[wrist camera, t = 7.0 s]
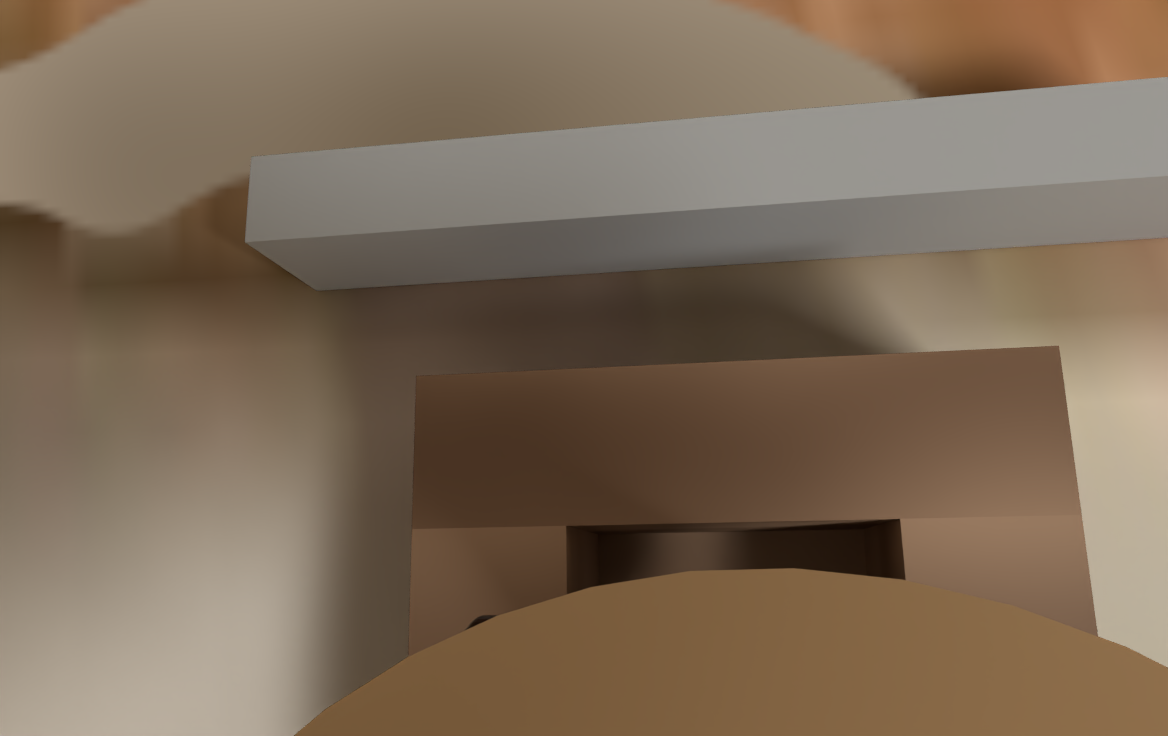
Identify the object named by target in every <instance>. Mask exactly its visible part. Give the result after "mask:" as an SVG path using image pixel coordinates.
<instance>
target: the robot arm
mask: <svg viewBox="0 0 1168 736" xmlns="http://www.w3.org/2000/svg"><path fill="white" fill-rule="evenodd" d="M496 616H498V615H483V616H479V617H477V618H476V619H474V620H473V621H472V622H471V623H470V624H469V626H468V627H467V628H466V629H465V630H467V629H470V628H472V627H474V626H476V625H478V624H480V623H483V622H485V621H487V620H489V619H491V618H493V617H496Z"/></svg>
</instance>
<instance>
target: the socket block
mask: <svg viewBox="0 0 1168 736" xmlns="http://www.w3.org/2000/svg"><path fill="white" fill-rule="evenodd" d="M785 568H796V569H806V570H816V571H825V572H835V573H844V574H854V575H864V576H873V577H883V578H892V579H902V580H906V581H910V582H915V583H919V584H923V585H927V586H932V587H936V588H940V589H945V590H949V591H953V592H957V593H962V594H966V595H970V596H974V597H979V598H983V599H987V600H991V601H996V602H1000V603H1004V604H1009V605H1013V606H1016V607H1018V608H1021V609H1024V610H1027V611H1029V612H1032V613H1035V614H1037V615H1040V616H1043V617H1046V618H1048V619H1051V620H1054V621H1057V622H1059V623H1062V624H1065V625H1068V626H1070V627H1073V628H1076V629H1078V630H1081V631H1084V632H1087V633H1089V634H1092V635H1095V636H1098V634H1097V626H1096V619H1095V612H1094V604H1093V597H1092V589H1091V582H1090V574H1089V567H1088V559H1087V552H1086V544H1085V537H1084V530H1083V522H1082V515H1081V507H1080V500H1079V492H1078V485H1077V477H1076V470H1075V462H1074V455H1073V448H1072V440H1071V433H1070V425H1069V418H1068V410H1067V403H1066V395H1065V388H1064V380H1063V373H1062V366H1061V358H1060V351H1059V346H1045V347H1024V348H1002V349H981V350H960V351H939V352H917V353H896V354H875V355H853V356H832V357H811V358H790V359H768V360H747V361H726V362H704V363H683V364H662V365H641V366H619V367H598V368H577V369H555V370H534V371H513V372H491V373H470V374H449V375H428V376H416V402H415V437H414V471H413V506H412V541H411V576H410V610H409V645H408V657H409V656H411V655H413V654H415V653H418V652H420V651H422V650H424V649H426V648H428V647H431V646H433V645H435V644H437V643H439V642H441V641H444V640H446V639H448V638H450V637H452V636H454V635H457V634H459V633H461V632H463V631H465V629H466V628H467V627H468V626H469V624H470V623H471V622H472V621H473V620H474V619H476V618H477V617H479V616H483V615H501V614H505V613H508V612H511V611H514V610H518V609H521V608H524V607H528V606H531V605H534V604H537V603H541V602H544V601H547V600H550V599H554V598H557V597H560V596H564V595H567V594H570V593H573V592H577V591H580V590H583V589H586V588H590V587H595V586H601V585H607V584H613V583H619V582H626V581H632V580H638V579H644V578H650V577H656V576H663V575H669V574H675V573H681V572H687V571H709V570H747V569H785Z"/></svg>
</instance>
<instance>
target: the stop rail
mask: <svg viewBox="0 0 1168 736" xmlns="http://www.w3.org/2000/svg"><path fill="white" fill-rule="evenodd" d="M250 167H251V168H250V180H249V193H248V206H247V220H246V233H245V243H247V244H248V245H250V246H251V247H253V248H254V249H256V250H257V251H259V252H260V253H262V254H263V255H264V256H266V257H267V258H269V259H270V260H272V261H273V262H275V263H276V264H278V265H279V266H281V267H282V268H284V269H285V270H287V271H288V272H290V273H291V274H292V275H294V276H295V277H297V278H298V279H300V280H301V281H303V282H304V283H306V284H307V285H309V286H310V287H312V288H313V289H315V290H316V291H320V290H336V289H352V288H368V287H384V286H400V285H416V284H432V283H448V282H464V281H480V280H496V279H512V278H528V277H544V276H560V275H576V274H592V273H608V272H624V271H640V270H656V269H672V268H688V267H704V266H720V265H736V264H752V263H768V262H784V261H800V260H816V259H832V258H848V257H864V256H880V255H896V254H912V253H928V252H944V251H960V250H976V249H992V248H1008V247H1024V246H1040V245H1056V244H1072V243H1088V242H1104V241H1120V240H1136V239H1152V238H1168V77H1163V78H1151V79H1140V80H1128V81H1117V82H1105V83H1093V84H1082V85H1070V86H1059V87H1047V88H1036V89H1024V90H1013V91H1001V92H990V93H978V94H967V95H955V96H944V97H932V98H920V99H909V100H898V101H887V102H874V103H863V104H852V105H840V106H828V107H817V108H805V109H794V110H782V111H771V112H760V113H748V114H736V115H726V116H713V117H703V118H691V119H678V120H667V121H655V122H644V123H632V124H621V125H609V126H599V127H586V128H576V129H563V130H552V131H540V132H529V133H517V134H505V135H494V136H483V137H471V138H460V139H448V140H436V141H425V142H413V143H402V144H391V145H378V146H367V147H356V148H344V149H332V150H322V151H309V152H298V153H286V154H276V155H264V156H252V157H251V166H250Z"/></svg>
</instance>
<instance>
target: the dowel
mask: <svg viewBox="0 0 1168 736" xmlns="http://www.w3.org/2000/svg"><path fill="white" fill-rule="evenodd" d="M294 736H1168V668H1167V667H1165V666H1163V665H1161V664H1159V663H1157V662H1155V661H1153V660H1151V659H1149V658H1147V657H1145V656H1143V655H1141V654H1139V653H1137V652H1135V651H1133V650H1131V649H1129V648H1127V647H1125V646H1122V645H1119V644H1117V643H1114V642H1111V641H1109V640H1106V639H1103V638H1100V637H1098V636H1095V635H1092V634H1089V633H1087V632H1084V631H1081V630H1078V629H1076V628H1073V627H1070V626H1068V625H1065V624H1062V623H1059V622H1057V621H1054V620H1051V619H1048V618H1046V617H1043V616H1040V615H1037V614H1035V613H1032V612H1029V611H1027V610H1024V609H1021V608H1018V607H1016V606H1013V605H1009V604H1004V603H1000V602H996V601H991V600H987V599H983V598H979V597H974V596H970V595H966V594H962V593H957V592H953V591H949V590H945V589H940V588H936V587H932V586H927V585H923V584H919V583H915V582H910V581H906V580H902V579H892V578H883V577H873V576H864V575H854V574H844V573H835V572H825V571H816V570H806V569H796V568H785V569H747V570H709V571H687V572H681V573H675V574H669V575H663V576H656V577H650V578H644V579H638V580H632V581H626V582H619V583H613V584H607V585H601V586H595V587H590V588H586V589H583V590H580V591H577V592H573V593H570V594H567V595H564V596H560V597H557V598H554V599H550V600H547V601H544V602H541V603H537V604H534V605H531V606H528V607H524V608H521V609H518V610H514V611H511V612H508V613H505V614H501V615H498V616H496V617H493V618H491V619H489V620H487V621H485V622H483V623H480V624H478V625H476V626H474V627H472V628H470V629H467V630H465V631H463V632H461V633H459V634H457V635H454V636H452V637H450V638H448V639H446V640H444V641H441V642H439V643H437V644H435V645H433V646H431V647H428V648H426V649H424V650H422V651H420V652H418V653H415V654H413V655H411V656H409V657H407V658H405V659H404V660H402V661H401V662H399V663H398V664H396V665H394V666H393V667H391V668H390V669H388V670H387V671H385V672H383V673H382V674H380V675H379V676H377V677H376V678H374V679H372V680H371V681H369V682H368V683H366V684H365V685H363V686H361V687H360V688H358V689H357V690H355V691H354V692H352V693H350V694H349V695H347V696H346V697H344V698H343V699H341V700H339V701H338V702H336V703H335V704H333V705H332V706H330V707H328V708H327V709H325V710H324V711H323V712H322V713H320V714H319V715H318V716H317V717H316V718H314V719H313V720H312V721H311V722H310V723H308V724H307V725H306V726H305V727H304V728H302V729H301V730H300V731H299V732H298V733H297V734H295V735H294Z"/></svg>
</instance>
